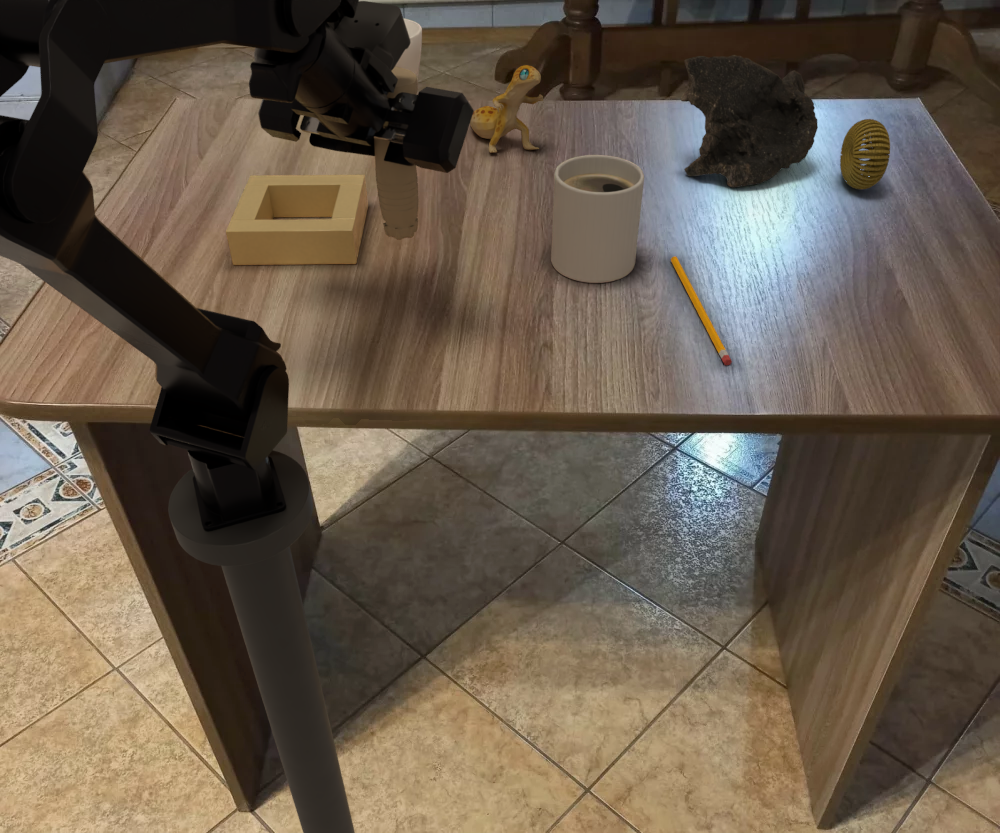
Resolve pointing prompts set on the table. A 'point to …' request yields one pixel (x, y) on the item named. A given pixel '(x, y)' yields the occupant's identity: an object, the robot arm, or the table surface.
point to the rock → (748, 119)
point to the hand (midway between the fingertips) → (401, 155)
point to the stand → (298, 220)
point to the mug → (596, 217)
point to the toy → (507, 109)
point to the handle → (397, 176)
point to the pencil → (701, 312)
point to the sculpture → (865, 154)
